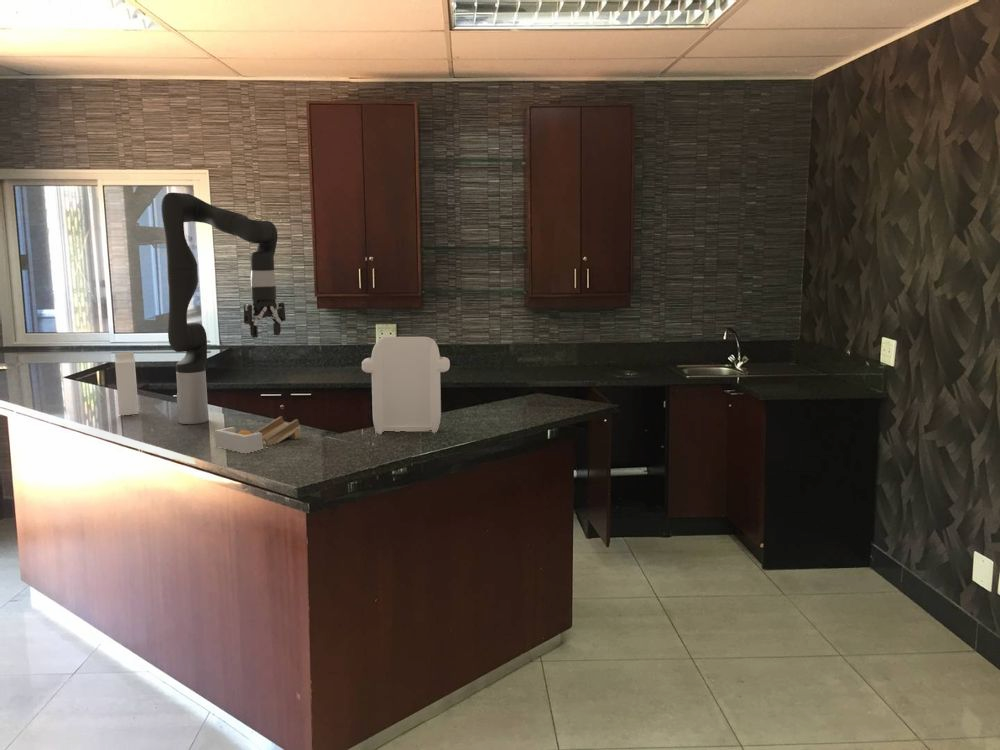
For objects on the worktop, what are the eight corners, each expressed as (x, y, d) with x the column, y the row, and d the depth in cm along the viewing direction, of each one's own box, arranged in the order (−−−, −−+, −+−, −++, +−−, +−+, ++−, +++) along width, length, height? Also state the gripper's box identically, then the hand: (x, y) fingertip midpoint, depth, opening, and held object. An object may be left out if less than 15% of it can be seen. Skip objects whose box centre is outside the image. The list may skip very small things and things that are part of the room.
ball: (231, 446, 243) (232, 429, 243) (245, 445, 247) (246, 429, 247) (242, 448, 240) (243, 431, 240) (256, 447, 244) (257, 430, 244)
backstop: (215, 447, 244) (214, 430, 243) (233, 443, 248) (232, 426, 248) (245, 454, 235) (244, 436, 235) (262, 449, 240) (261, 432, 239)
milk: (137, 415, 290) (133, 353, 287) (118, 416, 288) (114, 353, 285) (138, 412, 296) (134, 350, 292) (120, 413, 294) (115, 351, 290)
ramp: (249, 445, 250) (248, 423, 249) (283, 437, 260) (282, 415, 259) (266, 449, 245) (265, 426, 244) (301, 440, 255) (300, 419, 254)
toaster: (451, 426, 271) (449, 334, 266) (450, 434, 259) (448, 338, 255) (367, 427, 270) (364, 335, 265) (362, 435, 259) (359, 339, 254)
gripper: (274, 283, 268) (276, 333, 271) (236, 285, 257) (239, 337, 260) (289, 284, 264) (291, 335, 267) (252, 286, 253) (254, 339, 255)
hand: (265, 336), depth 263 cm, fingers open, 8 cm apart
